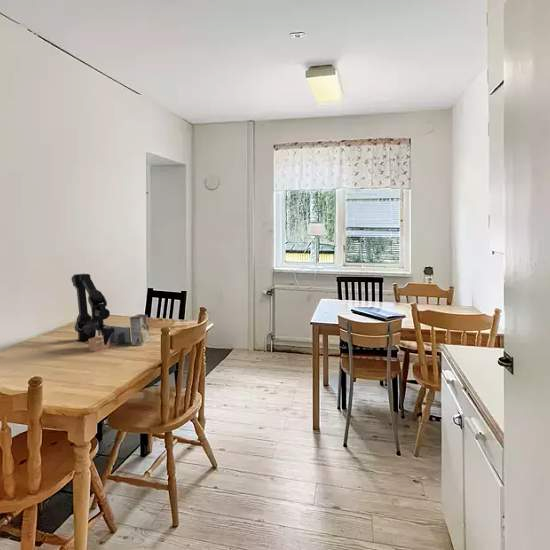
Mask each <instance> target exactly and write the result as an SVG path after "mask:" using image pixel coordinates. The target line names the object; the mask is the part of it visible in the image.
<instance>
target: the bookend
mask: <svg viewBox="0 0 550 550" xmlns="http://www.w3.org/2000/svg"><path fill="white" fill-rule="evenodd" d="M115 342H116V346H126V345H127V344H128V345H129V344H130V343H129V342H125V334H124V332H122V333H119V334H116V341H115Z"/></svg>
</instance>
